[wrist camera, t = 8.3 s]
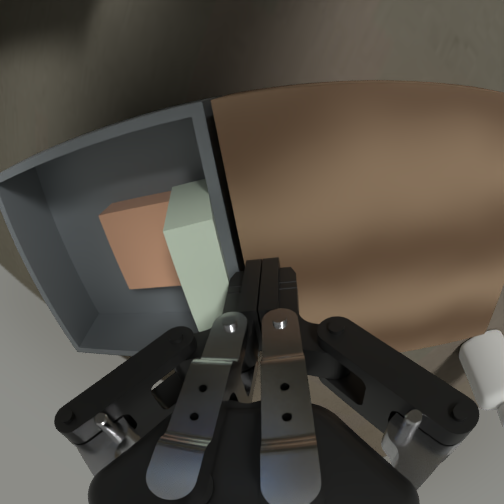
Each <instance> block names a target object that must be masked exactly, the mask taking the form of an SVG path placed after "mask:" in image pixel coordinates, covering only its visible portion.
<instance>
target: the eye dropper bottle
mask: <svg viewBox="0 0 504 504" xmlns="http://www.w3.org/2000/svg"><path fill="white" fill-rule="evenodd" d="M459 359H460V362H461V364H462V366H463V369H464V371H465V374H466V376H467V378H468V381H469V383H470V386H471V388H472V391H473V394H474V396H475V399H476V401H477V404H478V406H479V408H481V409H483V410H496V409H497V413H498V415H499V418H500V421H501V423H502V426H503V427H504V337H503V335H502V333H501V332H500V331H499V330H489V331H486V332H485V334H482V335H479V336H475V337H472V338H471V339H469V340H467V341H466V342H464V343H463V344H462V346H461V348H460V352H459Z"/></svg>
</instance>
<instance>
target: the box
mask: <svg viewBox="0 0 504 504" xmlns="http://www.w3.org/2000/svg"><path fill="white" fill-rule="evenodd" d="M219 97H222V95H221V96H216V97H211V98H206V99H202V100H197V101H192V102H188V103H184V104H180V105H176V106H172V107H168V108H164V109H160V110H157V111H153V112H149V113H146V114H142V115H139V116H136V117H132V118H129V119H126V120H123V121H120V122H117V123H114V124H111V125H108V126H105V127H102V128H99V129H96V130H94V131H91V132H88V133H85V134H83V135H80V136H78V137H75V138H72V139H70V140H67V141H65V142H62V143H60V144H58V145H55V146H53V147H51V148H48V149H46V150H44V151H42V152H39V153H37V154H35V155H33V156H31V157H29V158H27V159H25V160H23V161H21V162H19V163H17V164H15V165H13V166H11V167H10V168H8V169H6V170H4V171H2V172H1V173H0V210H1V212H2V215H3V217H4V220H5V222H6V224H7V227H8V229H9V231H10V234H11V236H12V238H13V240H14V243H15V245H16V247H17V249H18V251H19V253H20V255H21V257H22V259H23V262H24V264H25V266H26V267H27V269H28V271H29V273H30V275H31V277H32V279H33V281H34V283H35V285H36V286H37V288H38V290H39V292H40V294H41V295H42V297H43V299H44V300H45V302H46V304H47V306H48V307H49V309H50V311H51V312H52V314H53V315H54V317H55V319H56V320H57V322H58V323H59V325H60V327H61V328H62V330H63V331H64V333H65V334H66V336H67V337H68V338H69V340H70V342H71V343H72V345H73V346H74V348H75V349H76V350H77V352H85V353H96V354H109V355H124V356H134V355H135V354H136V353H138V352H139V351H140V350H142V349H143V348H145V347H146V346H147V345H149V344H150V343H151V342H153V341H154V340H155V339H157V338H158V337H160V336H161V335H162V334H164V333H165V332H166V331H168V330H169V329H171V328H174V327H177V326H185V327H188V328H190V329H191V330H192V331H193V333H198V332H199V331H198V328H197V325H196V323H195V320H194V318H193V315H192V313H191V310H190V307H189V305H188V302H187V299H186V297H185V294H184V291H183V288H182V286H168V287H155V288H142V289H129V287H128V285H127V283H126V280H125V278H124V276H123V274H122V272H121V269H120V267H119V265H118V263H117V260H116V258H115V256H114V253H113V251H112V249H111V246H110V244H109V241H108V239H107V236H106V234H105V231H104V229H103V226H102V224H101V221H100V219H99V215H100V214H101V213H102V212H103V211H104V210H105V209H106V208H107V207H108V206H109V205H110V204H112V203H115V202H120V201H124V200H129V199H133V198H138V197H143V196H148V195H152V194H157V193H162V192H168V191H171V190H172V187H174V186H178V185H182V184H186V183H190V182H194V181H198V180H202V179H206V183H207V187H208V192H209V196H210V200H211V204H212V209H213V213H214V217H215V221H216V225H217V230H218V234H219V238H220V242H221V246H222V250H223V254H224V258H225V262H226V266H227V270H228V274H229V278H230V279H231V277H232V276H233V275H234V274H235V273H236V272H241V271H244V270H245V264H244V259H243V254H242V250H241V245H240V240H239V235H238V231H237V226H236V221H235V216H234V212H233V207H232V202H231V197H230V193H229V188H228V183H227V178H226V173H225V168H224V164H223V159H222V154H221V149H220V144H219V139H218V134H217V129H216V124H215V120H214V115H213V110H212V105H211V100H212V99H215V98H219ZM258 356H259V351H258Z"/></svg>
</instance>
